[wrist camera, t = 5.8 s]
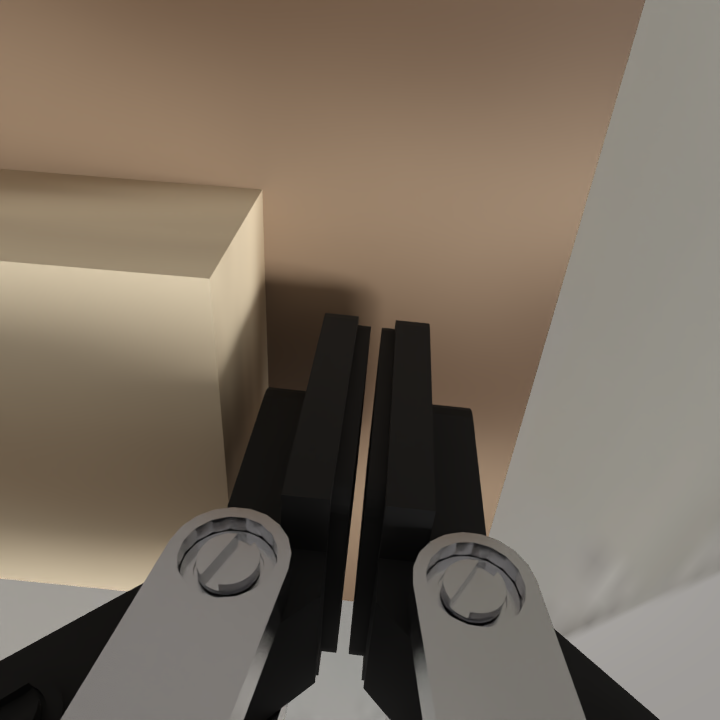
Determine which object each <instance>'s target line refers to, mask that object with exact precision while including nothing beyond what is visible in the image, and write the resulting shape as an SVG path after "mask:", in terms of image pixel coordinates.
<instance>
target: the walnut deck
mask: <svg viewBox="0 0 720 720" xmlns="http://www.w3.org/2000/svg"><path fill="white" fill-rule="evenodd" d="M644 3H645V0H0V169H9V170H21V171H34V172H46V173H59V174H71V175H84V176H96V177H109V178H121V179H134V180H147V181H159V182H172V183H184V184H197V185H209V186H222V187H234V188H247V189H259V190H262V194H263V227H264V259H265V291H266V323H267V355H268V387H273V388H282V389H292V390H301V391H306V389H307V385H308V381H309V377H310V373H311V369H312V365H313V361H314V356H315V352H316V348H317V344H318V340H319V336H320V332H321V327H322V323H323V319H324V315H325V313H332V314H342V315H352V316H359V324H358V325H362V326H371V334H370V344H369V354H368V364H367V374H366V384H365V394H364V405H363V415H362V425H361V435H360V445H359V455H358V465H357V474H356V483H355V492H354V501H353V509H352V518H351V527H350V536H349V545H348V554H347V563H346V571H345V580H344V589H343V598H342V600H347V601H354V593H355V582H356V572H357V561H358V551H359V540H360V530H361V519H362V509H363V499H364V488H365V478H366V467H367V458H368V448H369V439H370V430H371V421H372V412H373V403H374V394H375V384H376V375H377V366H378V357H379V348H380V339H381V330H382V328H391V329H395V322H396V320H401V321H410V322H420V323H429V324H430V344H431V376H432V404H435V405H444V406H454V407H463V408H470V409H471V410H472V414H473V421H474V430H475V439H476V448H477V457H478V465H479V474H480V483H481V492H482V501H483V510H484V518H485V527H486V536H487V537H488V536H489V532H490V529H491V525H492V522H493V518H494V515H495V512H496V508H497V505H498V501H499V498H500V495H501V491H502V488H503V484H504V481H505V478H506V474H507V471H508V467H509V464H510V460H511V457H512V454H513V450H514V447H515V443H516V440H517V437H518V433H519V430H520V426H521V423H522V419H523V416H524V413H525V409H526V406H527V402H528V399H529V396H530V392H531V389H532V385H533V382H534V378H535V375H536V372H537V368H538V365H539V361H540V358H541V355H542V351H543V348H544V344H545V341H546V337H547V334H548V331H549V327H550V324H551V320H552V317H553V314H554V310H555V307H556V303H557V300H558V297H559V293H560V290H561V286H562V283H563V279H564V276H565V273H566V269H567V266H568V262H569V259H570V256H571V252H572V249H573V245H574V242H575V238H576V235H577V232H578V228H579V225H580V221H581V218H582V215H583V211H584V208H585V204H586V201H587V197H588V194H589V191H590V187H591V184H592V180H593V177H594V174H595V170H596V167H597V163H598V160H599V156H600V153H601V150H602V146H603V143H604V139H605V136H606V133H607V129H608V126H609V122H610V119H611V116H612V112H613V109H614V105H615V102H616V98H617V95H618V92H619V88H620V85H621V81H622V78H623V75H624V71H625V68H626V64H627V61H628V57H629V54H630V51H631V47H632V44H633V40H634V37H635V34H636V30H637V27H638V23H639V20H640V16H641V13H642V10H643V6H644Z"/></svg>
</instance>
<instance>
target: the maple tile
mask: <svg viewBox="0 0 720 720" xmlns="http://www.w3.org/2000/svg"><path fill="white" fill-rule="evenodd" d="M267 388H268V355H267V323H266V291H265V259H264V227H263V194H262V190H259V189H247V188H234V187H222V186H209V185H197V184H184V183H172V182H159V181H147V180H134V179H121V178H109V177H96V176H84V175H71V174H59V173H46V172H34V171H21V170H9V169H0V579H10V580H20V581H30V582H40V583H50V584H60V585H70V586H80V587H90V588H100V589H110V590H120V591H130V590H131V589H133V588H135V587H137V586H139V585H141V584H142V583H144V581H145V580H146V578H147V577H148V575H149V573H150V572H151V570H152V568H153V567H154V565H155V563H156V562H157V560H158V558H159V557H160V555H161V553H162V552H163V550H164V549H165V547H166V545H167V544H168V542H169V540H170V539H171V538H172V537H173V536H174V534H175V533H176V532H177V531H178V530H179V528H180V527H181V526H183V525H184V524H186V523H187V522H189V521H190V520H191V519H193V518H194V517H196V516H198V515H201V514H204V513H206V512H209V511H211V510H214V509H222V508H227V506H228V503H229V500H230V497H231V494H232V491H233V488H234V485H235V482H236V479H237V476H238V473H239V470H240V467H241V464H242V461H243V458H244V455H245V452H246V448H247V445H248V442H249V439H250V436H251V433H252V430H253V427H254V424H255V421H256V418H257V415H258V412H259V409H260V406H261V403H262V400H263V397H264V394H265V392H266V390H267Z"/></svg>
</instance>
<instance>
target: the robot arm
mask: <svg viewBox="0 0 720 720" xmlns="http://www.w3.org/2000/svg"><path fill="white" fill-rule="evenodd" d="M358 324H359V316H352V315H342V314H332V313H325V315H324V319H323V323H322V327H321V332H320V336H319V340H318V344H317V348H316V352H315V356H314V361H313V365H312V369H311V373H310V377H309V381H308V385H307V389H306V391H301V390H292V389H282V388H273V387H268V388H267V390H266V392H265V394H264V397H263V400H262V403H261V406H260V409H259V412H258V415H257V418H256V421H255V424H254V427H253V430H252V433H251V436H250V439H249V442H248V445H247V448H246V452H245V455H244V458H243V461H242V464H241V467H240V470H239V473H238V476H237V479H236V482H235V485H234V488H233V491H232V494H231V497H230V500H229V503H228V506H227V508H222V509H214V510H211V511H209V512H206V513H204V514H201V515H198V516H196V517H194V518H193V519H191V520H190V521H189V522H187V523H186V524H184V525H183V526H181V527H180V528H179V530H178V531H177V532H176V533H175V534H174V536H173V537H172V538H171V539H170V540H169V542H168V544H167V545H166V547H165V549H164V550H163V552H162V553H161V555H160V557H159V558H158V560H157V562H156V563H155V565H154V567H153V568H152V570H151V572H150V573H149V575H148V577H147V578H146V580H145V581H144V583H142V584H141V585H139V586H137V587H135V588H133V589H131V590H130V591H128V592H126V593H124V594H122V595H120V596H119V597H117V598H115V599H113V600H111V601H109V602H108V603H106V604H104V605H102V606H100V607H98V608H97V609H95V610H93V611H91V612H89V613H87V614H86V615H84V616H82V617H80V618H78V619H76V620H75V621H73V622H71V623H69V624H67V625H65V626H64V627H62V628H60V629H58V630H56V631H54V632H53V633H51V634H49V635H47V636H45V637H43V638H42V639H40V640H38V641H36V642H34V643H32V644H31V645H29V646H27V647H25V648H23V649H21V650H20V651H18V652H16V653H14V654H12V655H10V656H9V657H7V658H5V659H3V660H1V661H0V720H285V717H286V711H287V705H288V703H289V702H290V701H291V700H293V699H294V698H295V697H297V696H298V695H299V694H301V693H302V692H303V691H305V690H306V689H307V688H309V687H310V686H311V685H312V684H314V683H315V677H316V675H318V673H319V666H320V658H321V651H326V652H335V653H336V651H337V642H338V634H339V625H340V616H341V607H342V598H343V589H344V580H345V571H346V563H347V554H348V545H349V536H350V527H351V518H352V509H353V501H354V492H355V483H356V474H357V465H358V455H359V445H360V435H361V425H362V415H363V405H364V394H365V384H366V374H367V364H368V354H369V344H370V334H371V326H362V325H358ZM349 654H353V655H362V656H364V657H363V670H362V680H364V689H365V691H366V692H367V693H368V694H369V695H370V696H371V698H372V699H373V700H374V701H375V702H376V704H377V705H378V706H379V707H380V708H381V709H382V711H383V712H384V713H385V714H386V720H659V719H658V718H657V717H656V716H655V715H654V714H652V713H651V712H650V711H649V710H648V709H647V708H645V707H644V706H643V705H642V704H641V703H640V702H638V701H637V700H636V699H635V698H634V697H633V696H632V695H630V694H629V693H628V692H627V691H626V690H624V689H623V688H622V687H621V686H620V685H618V683H616V682H615V681H614V680H613V679H612V678H610V677H609V676H608V675H607V674H606V673H605V672H604V671H602V670H601V669H600V668H599V667H598V666H597V665H595V664H594V663H593V662H592V661H591V660H590V659H588V658H587V657H586V656H585V655H584V654H583V653H581V652H580V651H579V650H578V649H577V648H576V647H575V646H573V645H572V644H571V643H570V642H569V641H568V640H567V639H565V638H564V637H563V636H562V635H561V634H560V633H558V632H557V631H556V630H555V629H554V628H553V625H552V622H551V619H550V616H549V614H548V611H547V608H546V605H545V602H544V599H543V597H542V594H541V591H540V588H539V585H538V583H537V580H536V578H535V576H534V575H533V573H532V571H531V569H530V567H529V565H528V564H527V563H526V562H525V561H524V560H523V559H522V558H521V557H520V556H519V555H518V554H517V552H516V551H514V550H513V549H511V548H510V547H508V546H506V545H505V544H503V543H502V542H500V541H498V540H496V539H493V538H490V537H487V536H486V527H485V518H484V510H483V501H482V492H481V483H480V474H479V465H478V457H477V448H476V439H475V430H474V421H473V414H472V410H471V409H470V408H463V407H454V406H444V405H435V404H432V376H431V344H430V324H429V323H420V322H410V321H401V320H396V322H395V329H391V328H382V330H381V339H380V348H379V357H378V366H377V375H376V384H375V394H374V403H373V412H372V421H371V430H370V439H369V448H368V458H367V467H366V478H365V488H364V499H363V509H362V519H361V530H360V540H359V551H358V561H357V572H356V582H355V593H354V603H353V614H352V624H351V635H350V645H349Z"/></svg>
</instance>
